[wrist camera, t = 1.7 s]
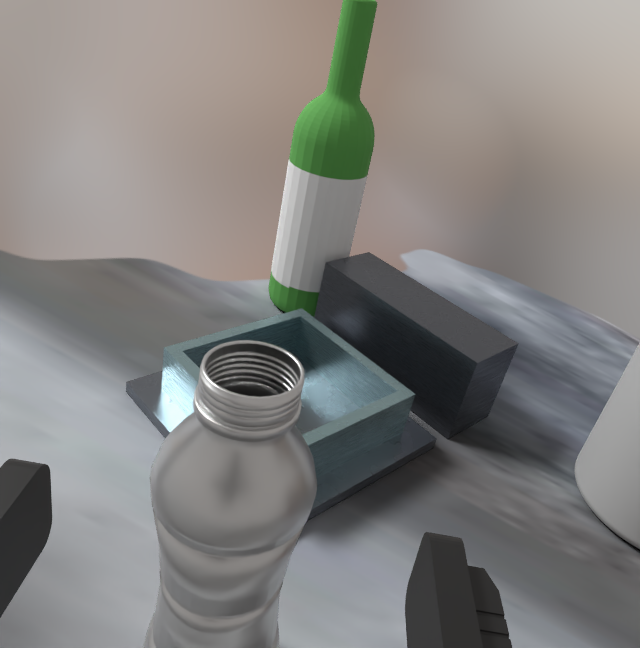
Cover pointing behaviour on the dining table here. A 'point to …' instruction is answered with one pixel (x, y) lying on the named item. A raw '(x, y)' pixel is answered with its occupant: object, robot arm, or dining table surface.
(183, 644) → the plastic bottle
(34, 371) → the dining table surface
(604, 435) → the cylinder vase
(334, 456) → the teal open bin
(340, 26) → the wine bottle
